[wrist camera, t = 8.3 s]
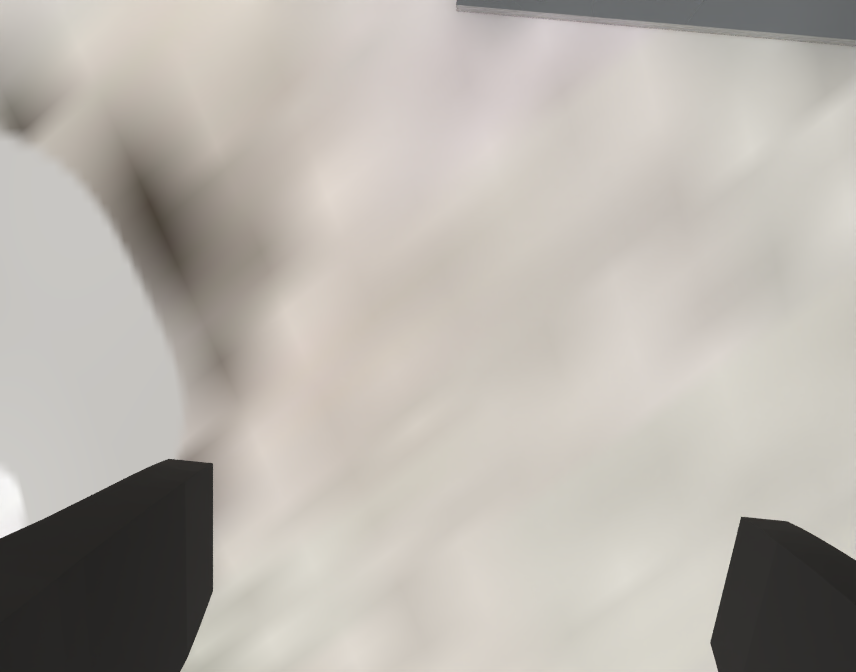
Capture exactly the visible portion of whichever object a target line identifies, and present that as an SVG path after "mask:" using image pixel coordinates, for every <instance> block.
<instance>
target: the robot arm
mask: <svg viewBox="0 0 856 672" xmlns="http://www.w3.org/2000/svg"><path fill="white" fill-rule="evenodd" d="M212 592H213V463H204V462H194V461H184V460H174V459H168V460H165V461H162V462H160V463H157V464H155V465H152V466H151V467H148V468H146V469H144V470H142V471H140V472H137V473H135V474H133V475H131V476H129V477H127V478H125V479H123V480H121V481H119V482H117V483H115V484H113V485H111V486H109V487H107V488H105V489H103V490H101V491H99V492H97V493H95V494H94V495H91V496H89V497H87V498H85V499H83V500H81V501H79V502H77V503H75V504H73V505H71V506H69V507H67V508H65V509H63V510H61V511H59V512H57V513H55V514H53V515H51V516H49V517H47V518H45V519H43V520H40V521H38V522H36V523H34V524H32V525H29V526H27V527H25V528H23V529H20V530H18V531H16V532H14V533H11V534H9V535H7V536H5V537H3V538H0V672H180V671H181V669H182V667H183V665H184V663H185V661H186V659H187V657H188V655H189V652H190V650H191V647H192V645H193V642H194V640H195V637H196V635H197V632H198V630H199V627H200V624H201V622H202V619H203V616H204V614H205V611H206V608H207V606H208V603H209V600H210V597H211V595H212ZM710 643H711V647H712V650H713V654H714V658H715V661H716V665H717V668H718V672H856V560H854V559H853V558H851V557H849V556H848V555H846V554H845V553H843V552H841V551H840V550H838V549H836V548H835V547H833V546H831V545H830V544H828V543H826V542H825V541H823V540H821V539H820V538H818V537H816V536H814V535H813V534H811V533H809V532H807V531H805V530H803V529H802V528H800V527H798V526H795V525H793V524H791V523H789V522H787V521H778V520H768V519H758V518H748V517H741V520H740V524H739V528H738V532H737V536H736V540H735V544H734V549H733V553H732V557H731V561H730V565H729V569H728V573H727V577H726V581H725V585H724V589H723V593H722V598H721V602H720V606H719V610H718V614H717V618H716V622H715V626H714V630H713V634H712V638H711V642H710Z"/></svg>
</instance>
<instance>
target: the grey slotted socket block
mask: <svg viewBox="0 0 856 672" xmlns="http://www.w3.org/2000/svg"><path fill="white" fill-rule="evenodd" d="M456 7H457V11H462V12H474V13H485V14H497V15H508V16H519V17H531V18H542V19H553V20H565V21H576V22H587V23H599V24H610V25H621V26H633V27H644V28H655V29H667V30H678V31H689V32H701V33H712V34H723V35H735V36H746V37H757V38H769V39H780V40H791V41H803V42H814V43H825V44H837V45H848V46H856V0H457V4H456Z"/></svg>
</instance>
